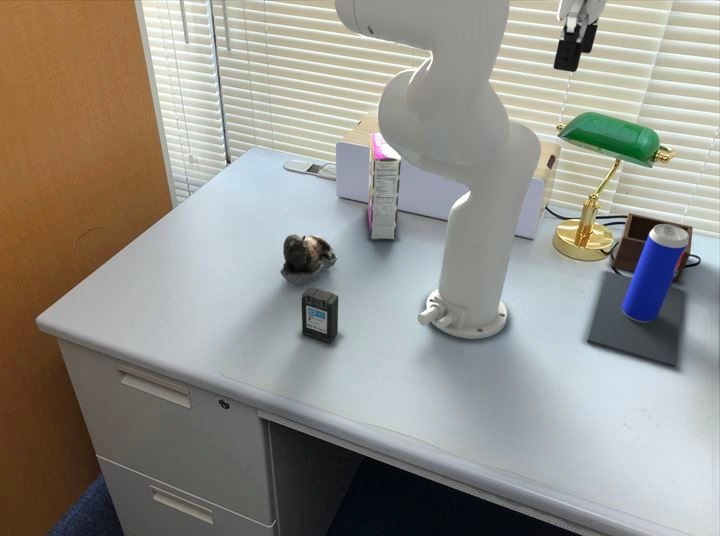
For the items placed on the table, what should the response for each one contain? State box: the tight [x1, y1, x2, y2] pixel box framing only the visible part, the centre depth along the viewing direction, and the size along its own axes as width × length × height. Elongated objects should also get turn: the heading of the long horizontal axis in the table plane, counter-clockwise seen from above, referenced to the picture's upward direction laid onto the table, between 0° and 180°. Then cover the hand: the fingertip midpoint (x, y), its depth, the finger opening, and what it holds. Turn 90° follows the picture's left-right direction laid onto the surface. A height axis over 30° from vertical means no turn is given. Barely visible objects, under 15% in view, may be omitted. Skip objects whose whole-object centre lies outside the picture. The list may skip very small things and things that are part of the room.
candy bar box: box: [367, 132, 402, 241], centre depth 116 cm, size 11×5×16 cm, turn 179°
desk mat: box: [586, 270, 684, 368], centre depth 99 cm, size 20×12×1 cm, turn 153°
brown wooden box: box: [612, 212, 694, 284], centre depth 109 cm, size 9×10×6 cm
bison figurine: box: [279, 233, 339, 287], centre depth 105 cm, size 12×7×10 cm, turn 151°
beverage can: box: [622, 224, 689, 323], centre depth 94 cm, size 5×5×15 cm
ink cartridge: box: [300, 286, 339, 345], centre depth 93 cm, size 5×2×8 cm, turn 63°
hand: (572, 60), depth 92 cm, fingers open, 9 cm apart
